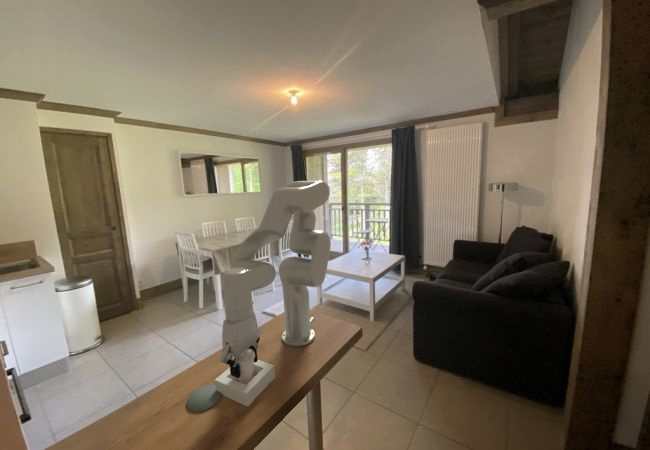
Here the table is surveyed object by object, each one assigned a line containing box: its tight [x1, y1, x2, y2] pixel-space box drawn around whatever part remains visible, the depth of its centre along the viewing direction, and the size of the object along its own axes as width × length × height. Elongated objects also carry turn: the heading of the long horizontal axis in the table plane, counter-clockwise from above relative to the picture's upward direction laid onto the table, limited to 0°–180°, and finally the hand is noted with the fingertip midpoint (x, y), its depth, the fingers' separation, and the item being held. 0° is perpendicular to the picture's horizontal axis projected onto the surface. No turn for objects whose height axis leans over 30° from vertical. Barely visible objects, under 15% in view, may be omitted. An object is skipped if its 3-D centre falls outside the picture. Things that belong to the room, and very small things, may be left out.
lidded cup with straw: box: [232, 349, 255, 385], centre depth 78 cm, size 6×6×14 cm
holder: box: [214, 359, 276, 408], centre depth 79 cm, size 12×12×4 cm
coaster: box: [186, 383, 223, 413], centre depth 75 cm, size 9×9×1 cm
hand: (244, 367), depth 79 cm, fingers closed on lidded cup with straw, 6 cm apart
